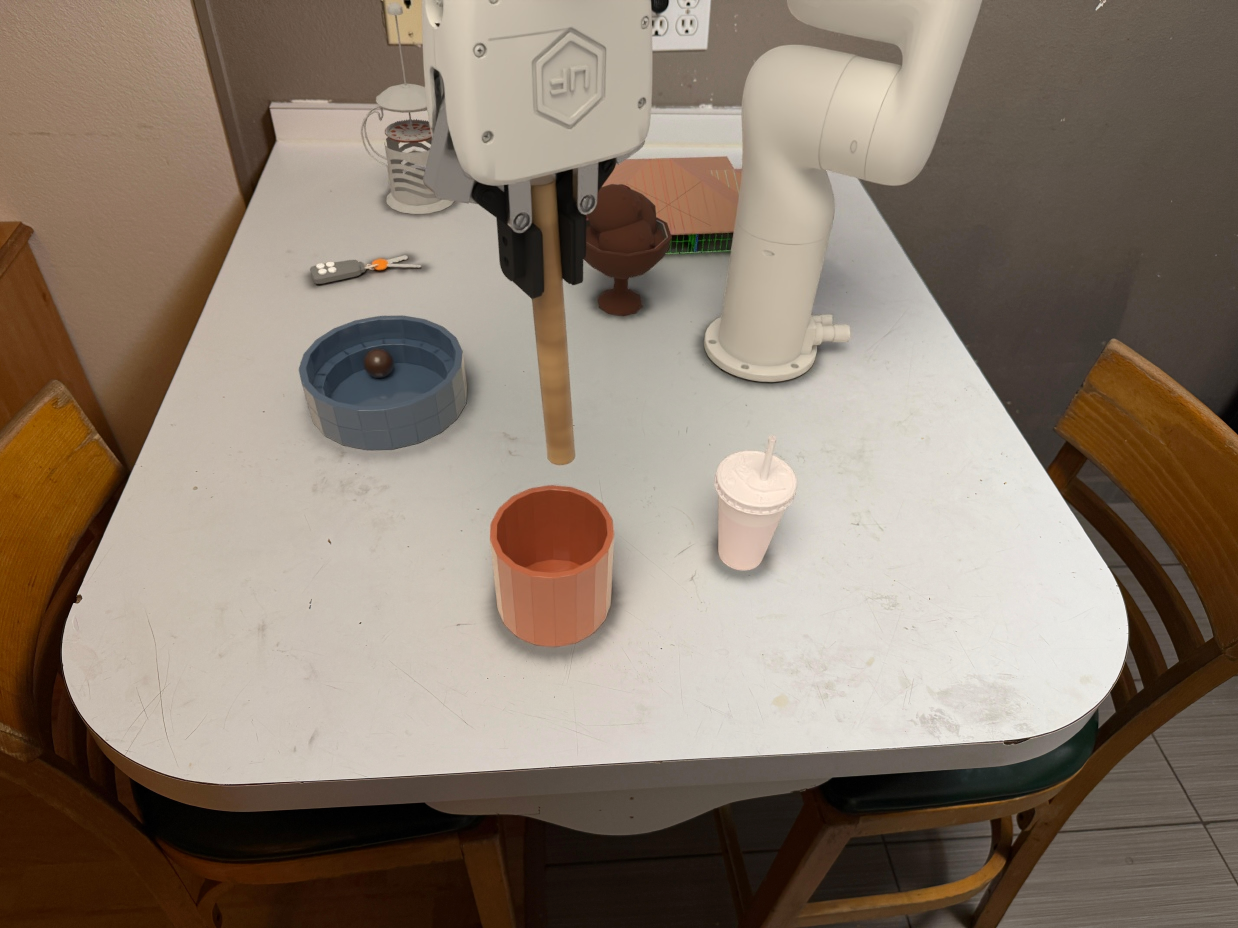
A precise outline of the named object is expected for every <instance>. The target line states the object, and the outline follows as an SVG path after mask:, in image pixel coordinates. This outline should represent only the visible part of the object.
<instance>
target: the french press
mask: <svg viewBox="0 0 1238 928" xmlns="http://www.w3.org/2000/svg"><path fill="white" fill-rule="evenodd" d="M386 11H387V12H386V13H387V15H389V16H394V20H395V25H396V33H397V41H398V48H399V55H400V63H401V70H402V75H403V83H401V84H397V85H392V86H389V87H387V88H386V89H385V90H383V91H382V92H380V93H379V94H378V95H376V97H375V102H376V104H377V105H376V106H374V107H373V108H371V109H370V110H369V111H368V112H367V113H366V115H365V117H364V118H363V120H362V123H361V126H360V137H361V140H362V144H363V147H364V149H365V151H366V152H367V153H368V155H369V157H371V158H372V159H373V160H374V161H375V162H377V163H378V164H381V165H382V166H384V167H386V172H387V176H388V182H389V187H390V192H389V193H388V195H387V196H386V204H387V205H388V206H389V207H390V208H391V210H395V211H397V212H400V213H404V214H410V215H424V214H432V213H436V212H437V213H438V212H440V211H444V210H445V209H447V208H449V207H451V206H452V205H453V204H454V202H455V201H449V200H443V199H439V198H438V197H436V196H435V195H434V194H433V193H432V192H431V191H430V190H429V189H427V188H426V187H425V185H424V183H423V177H424V173H425V168H426V164H427V160H428V156H429V151H430V147H429V146H427V145H426V144H424V143H423V142H425V143H427V144H429V145H431V143H432V135H431V131H430V125H429V120H424V119H423V120H422V119H417V118H416V119H412V115H411V113H420V112H425V111H427V102H426V92H425V86H423V85H419V84H414V83H407V79H406V72H405V66H404V59H403V58H404V57H403V50H402V45H401V44H402V43H401V36H400V30H399V29H400V28H399V23H398V16H400V15H403V14H404V10H403V6H402V5H401V4H400V3H398V2H389V3H388V5H387V7H386ZM377 109H380V111H378V110H377ZM384 110H386V111H389V112H393V113H402V114H403V113H408V118H409V119H407V118H406V119H404V120H402V119H401V120H396V121H394V122H392V123H390V124H388V125H387V126H386V127H385V128H384V135H385V136H386V139H385V143H383V144H384V145H383V146H384V149H385V156H386V157H385V156H384V155H382V154H380V153H379V152H377V150H375V149H374V147H373V145H372V144H371V143H370V140H369V137H368V133H367V121H368V118H369V117H370V116H371V115H373V114H375V113H376V114H377V117H378V120H379V121H381V122H382V121H383V118H384V116H385V115H384ZM365 139H366V142H367V144H368V146H369V148H370V149H371V150H372V152H373V153H374V154H376V155H377V156H378V157H380V158H381V159H384V160H386V163H387V164H386V163H384V162H382V161H381V160H379V159H377V158H376V157H374V155H373V154H372V153H371V152H370V150H369V148H368V147H367V145H366V142H365ZM400 143H401V144H403V145H401V146H400V145H399V144H400ZM414 147H415V148H420V149H423V150H424V151H419V150H412V151H409V152H404V151H405V150H407V149H410V148H414ZM404 161H405V163H404V164H402V163H403V162H404ZM415 165H416V166H420V167H423V168H419V167H416V168H414V167H412V166H415ZM403 171H406V172H405V173H404V172H403Z"/></svg>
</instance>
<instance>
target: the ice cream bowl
mask: <svg viewBox="0 0 1238 928" xmlns="http://www.w3.org/2000/svg"><path fill="white" fill-rule="evenodd" d="M672 236H673V235H672ZM672 236H671V233H670V230H669V227H668V224H667V222H665V221H663V220H661V219H659V218H657V217H656V207H655V205H654V204H653V203H652V202H651V201H650V200H649V199H647V198H646V197H645V196H644V195H643V194H641V193H639V192H637V191H635V190H632V189H631V188H630V187H628V186H626V185H623V184H618V185H616V184H610V185H607V186H604V187H601V189H600V190H599V191H598V194H597V205H596V207H595V209H594V210H593V211H592V212H591V213H589V214H587V219H586V257H585V258H584V259H583V261H584V262H586V263H587V264H588V265H589V266H590V267H592V268H593V269H595V270H596V271H598V272H599V273H601V274H603V275H604V276H606V277H608V278H611V279H613V287H612V288H607V289H605V290H604V291H603V292H602V293H600V294H599V295H598V297H597V305H598V309H600V310H602V311H604V313H606V314H608V315H613V316H621V317H624V316H629V315H633V314H637V312H639V311H640V309H641V308H643V302H642V297H641V294H640V293H638V292H636V291H635V290H633V289H631V288H629V279H633V278H636V277H641V276H644V275H645V274H646V273H648V272H649V271H650V270H652V269H653V268H654V267H655V266H656V265H657V264H658V263H660V262H661V260H662V259H663V258H664V257H665V255H667V254H666V253H668V251H669V250H670V243H672V242H671V241H672V239H673V237H672Z"/></svg>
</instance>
